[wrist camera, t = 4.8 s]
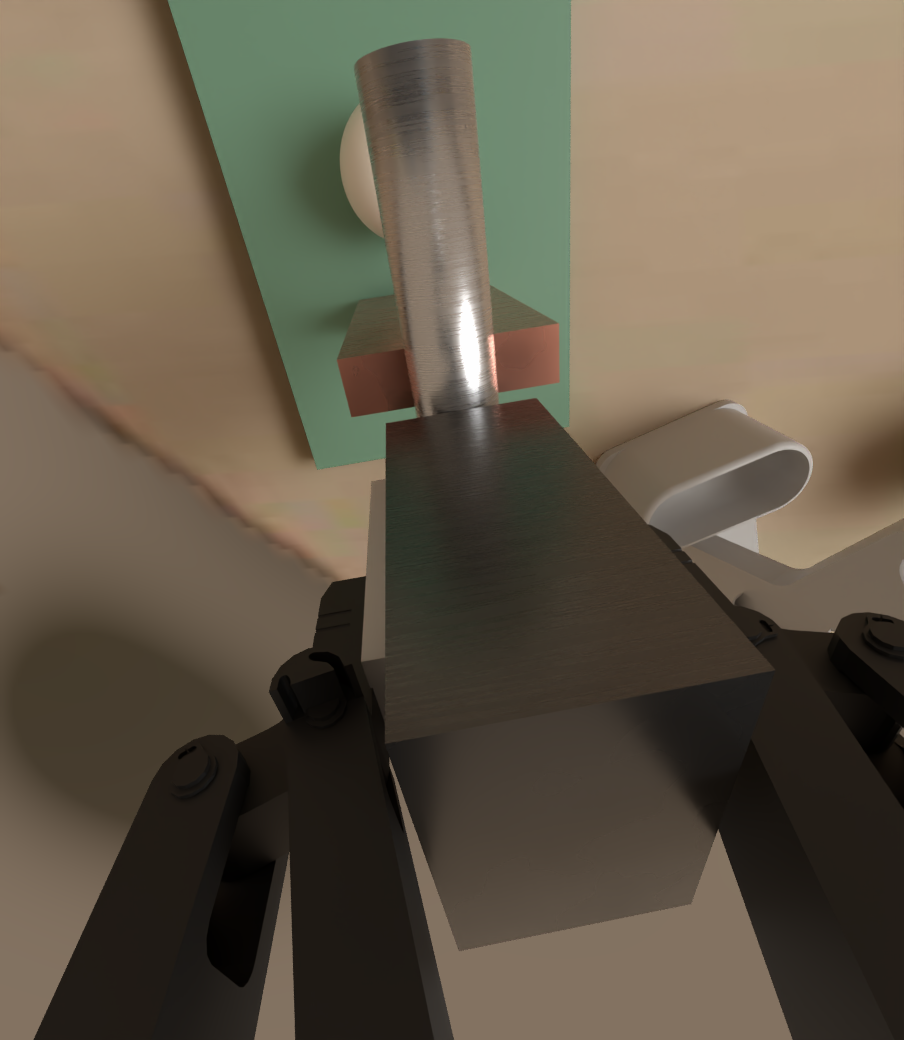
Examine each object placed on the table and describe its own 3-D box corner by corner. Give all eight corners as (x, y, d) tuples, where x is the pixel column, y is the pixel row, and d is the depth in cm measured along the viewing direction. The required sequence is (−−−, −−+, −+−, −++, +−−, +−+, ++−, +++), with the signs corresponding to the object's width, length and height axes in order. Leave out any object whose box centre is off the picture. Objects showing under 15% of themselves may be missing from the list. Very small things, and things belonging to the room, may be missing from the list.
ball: (364, 74, 19) (358, 30, 15) (477, 138, 20) (501, 114, 16) (331, 213, 21) (317, 209, 17) (435, 261, 22) (446, 269, 18)
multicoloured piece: (327, 156, 20) (-965, -1384, 1) (469, 134, 20) (1981, -1526, 1) (390, 444, 27) (399, 963, 8) (494, 426, 27) (747, 892, 8)
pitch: (-22, -641, 12) (-279, -1189, 7) (555, -698, 12) (654, -1247, 8) (320, 458, 29) (307, 503, 24) (561, 417, 29) (594, 454, 24)
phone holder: (588, 453, 31) (785, 674, 16) (741, 385, 29) (1118, 554, 14) (639, 622, 40) (795, 866, 25) (758, 576, 39) (999, 803, 23)
